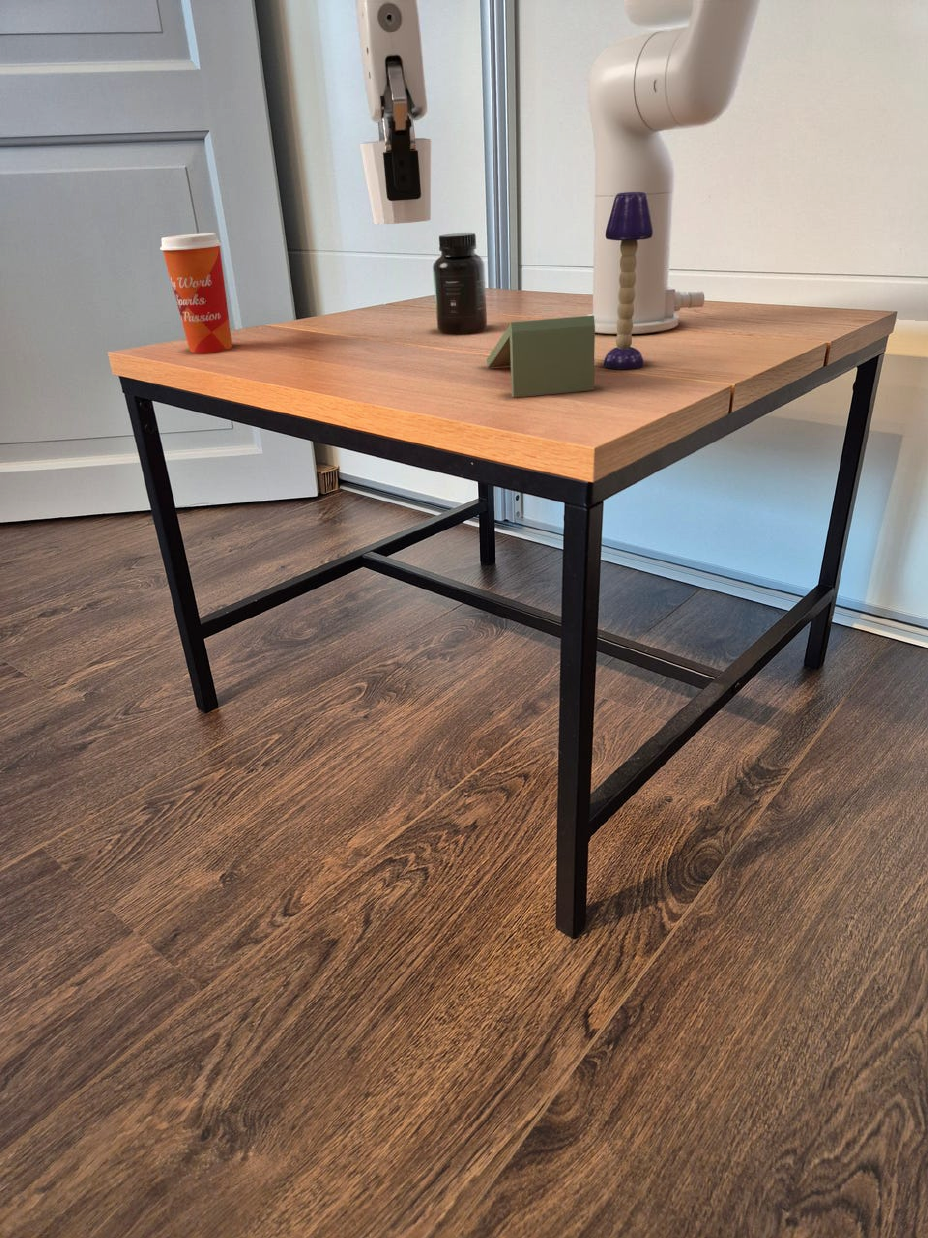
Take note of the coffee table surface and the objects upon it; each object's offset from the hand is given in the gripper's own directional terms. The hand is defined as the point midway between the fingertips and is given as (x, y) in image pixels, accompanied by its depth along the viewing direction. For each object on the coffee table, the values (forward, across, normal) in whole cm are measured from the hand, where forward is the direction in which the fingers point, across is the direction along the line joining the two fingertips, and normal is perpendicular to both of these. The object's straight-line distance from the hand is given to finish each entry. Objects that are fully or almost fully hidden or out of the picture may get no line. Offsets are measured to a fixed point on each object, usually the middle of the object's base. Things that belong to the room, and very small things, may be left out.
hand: (401, 196), depth 82 cm
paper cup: (+18, +29, +25) cm, 42 cm away
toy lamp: (+18, -3, -22) cm, 29 cm away
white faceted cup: (+2, 0, 0) cm, 2 cm away
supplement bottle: (+18, +27, -9) cm, 33 cm away
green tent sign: (+18, -5, -12) cm, 22 cm away
